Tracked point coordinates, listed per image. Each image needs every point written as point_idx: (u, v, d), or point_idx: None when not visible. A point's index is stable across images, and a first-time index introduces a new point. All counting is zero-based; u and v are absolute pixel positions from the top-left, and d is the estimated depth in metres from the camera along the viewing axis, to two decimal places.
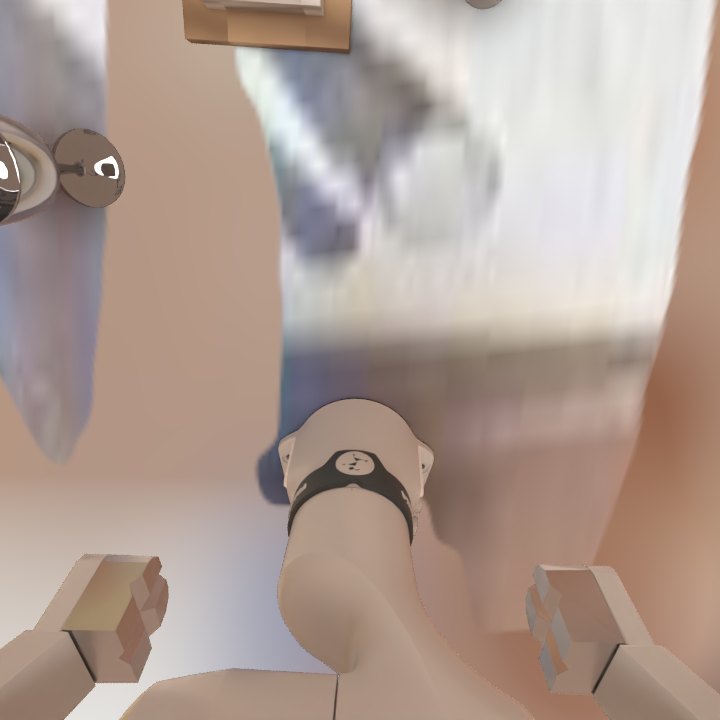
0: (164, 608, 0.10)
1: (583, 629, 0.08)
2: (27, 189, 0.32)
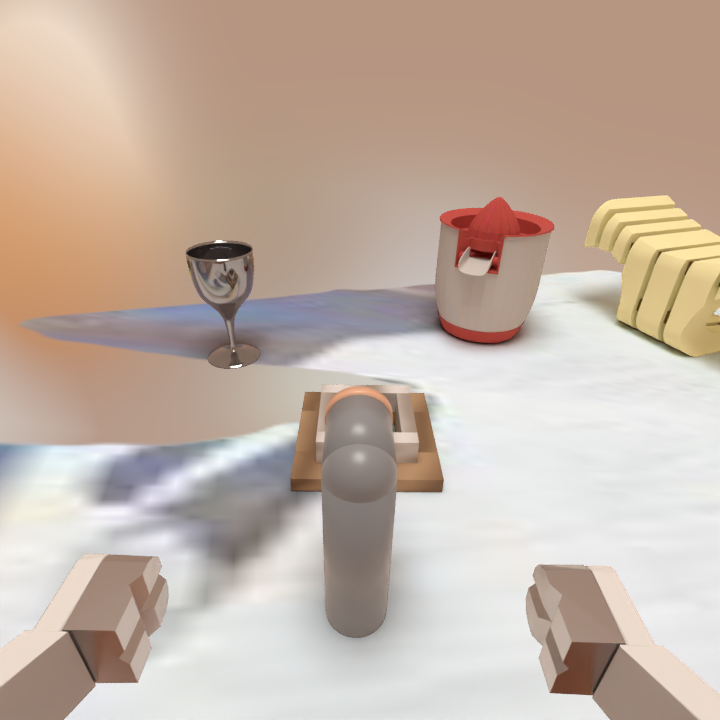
0: (164, 608, 0.10)
1: (583, 629, 0.08)
2: (202, 266, 0.53)
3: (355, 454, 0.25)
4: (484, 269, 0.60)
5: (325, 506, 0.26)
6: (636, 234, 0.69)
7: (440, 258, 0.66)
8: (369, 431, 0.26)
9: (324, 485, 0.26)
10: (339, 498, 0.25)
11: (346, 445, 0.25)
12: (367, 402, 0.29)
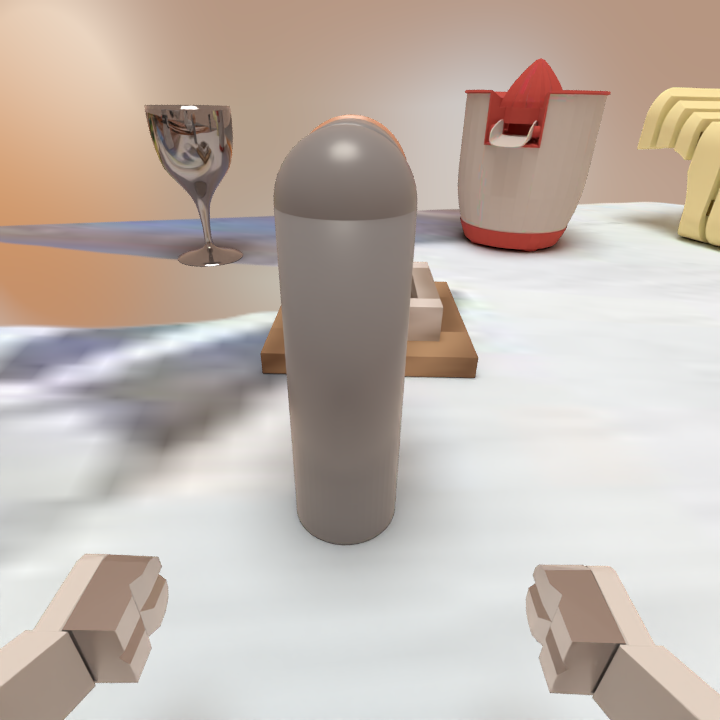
0: (164, 608, 0.10)
1: (582, 629, 0.08)
2: (163, 117, 0.42)
3: (335, 131, 0.13)
4: (522, 142, 0.48)
5: (281, 262, 0.14)
6: (706, 119, 0.56)
7: (464, 143, 0.54)
8: (365, 125, 0.14)
9: (277, 208, 0.13)
10: (302, 217, 0.12)
11: (319, 129, 0.13)
12: (365, 121, 0.17)
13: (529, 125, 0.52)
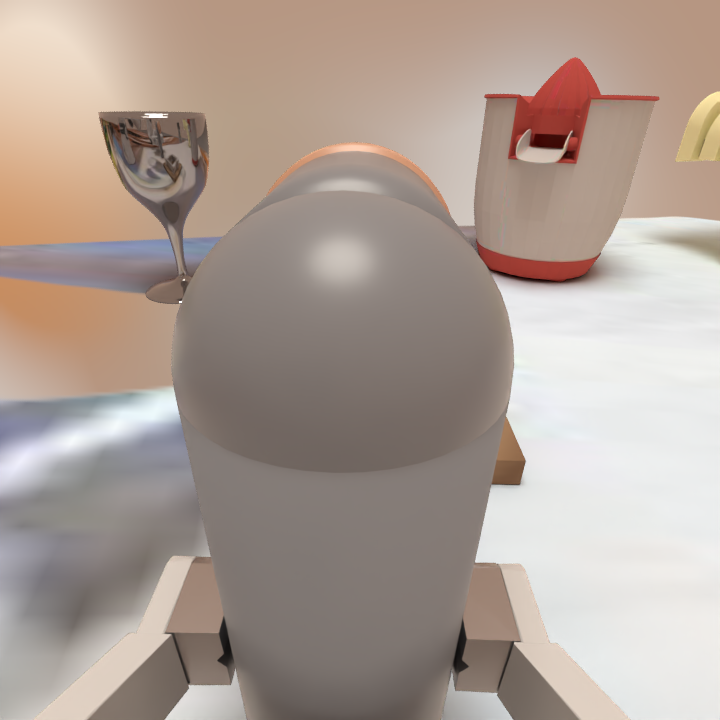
0: None
1: (481, 626, 0.08)
2: (119, 127, 0.34)
3: (317, 216, 0.05)
4: (555, 156, 0.40)
5: (198, 496, 0.06)
6: None
7: (483, 156, 0.46)
8: (389, 182, 0.06)
9: (176, 395, 0.05)
10: (227, 449, 0.05)
11: (280, 201, 0.05)
12: (381, 158, 0.09)
13: (561, 136, 0.44)
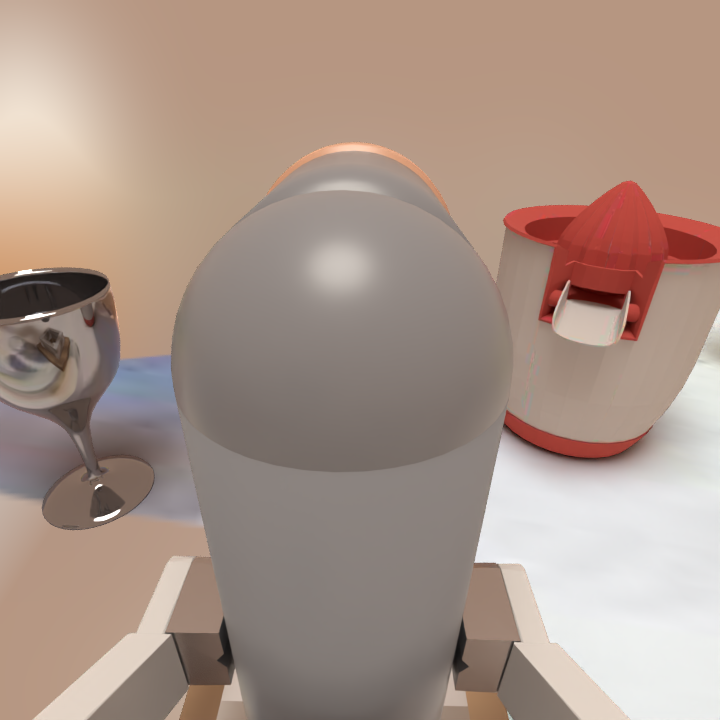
0: None
1: (480, 626, 0.08)
2: None
3: (316, 216, 0.05)
4: (607, 330, 0.29)
5: (197, 496, 0.06)
6: None
7: None
8: (388, 182, 0.06)
9: (175, 394, 0.05)
10: (226, 449, 0.05)
11: (279, 201, 0.05)
12: (380, 158, 0.09)
13: None
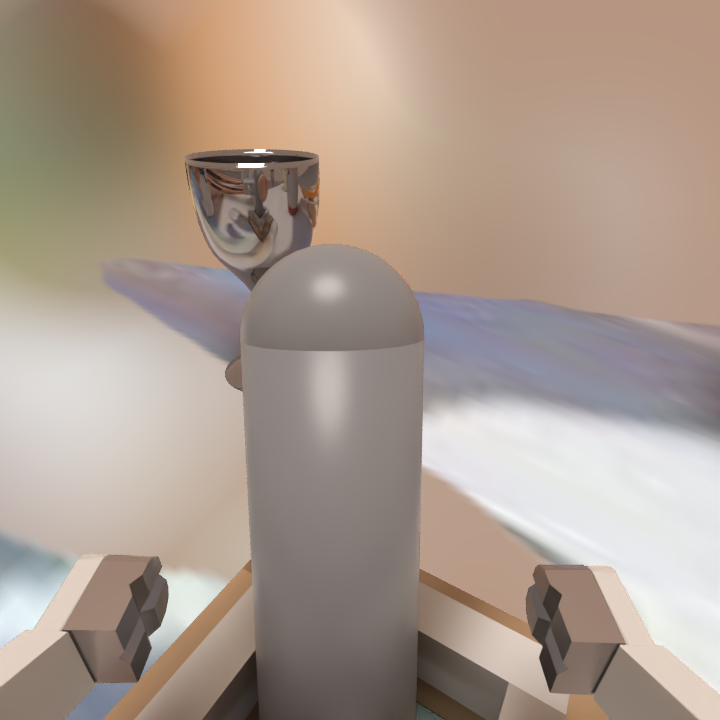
0: (164, 608, 0.10)
1: (583, 629, 0.08)
2: (193, 177, 0.26)
3: (316, 249, 0.10)
4: None
5: (245, 410, 0.11)
6: None
7: None
8: None
9: (241, 341, 0.10)
10: (267, 348, 0.09)
11: None
12: None
13: None
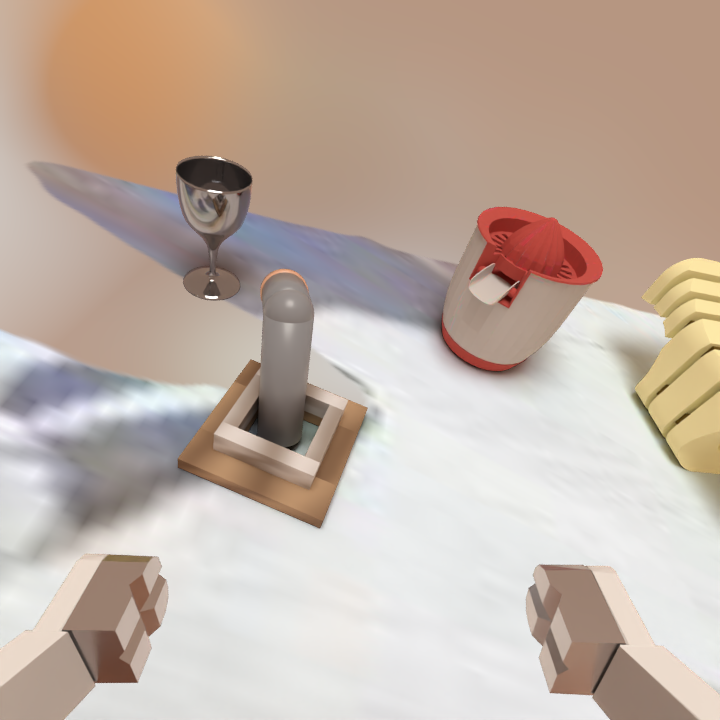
0: (164, 608, 0.10)
1: (582, 629, 0.08)
2: (186, 189, 0.48)
3: (288, 293, 0.38)
4: (496, 297, 0.52)
5: (266, 333, 0.39)
6: (700, 312, 0.57)
7: (462, 260, 0.57)
8: (295, 286, 0.40)
9: (266, 316, 0.39)
10: (277, 321, 0.38)
11: (281, 290, 0.39)
12: (292, 276, 0.43)
13: None
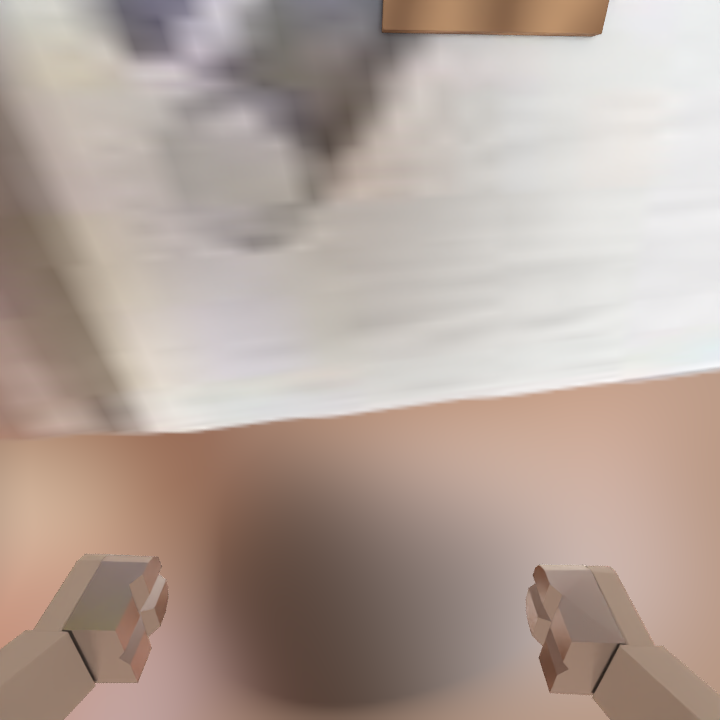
0: (164, 608, 0.10)
1: (583, 629, 0.08)
2: None
3: None
4: None
5: None
6: None
7: None
8: None
9: None
10: None
11: None
12: None
13: None
